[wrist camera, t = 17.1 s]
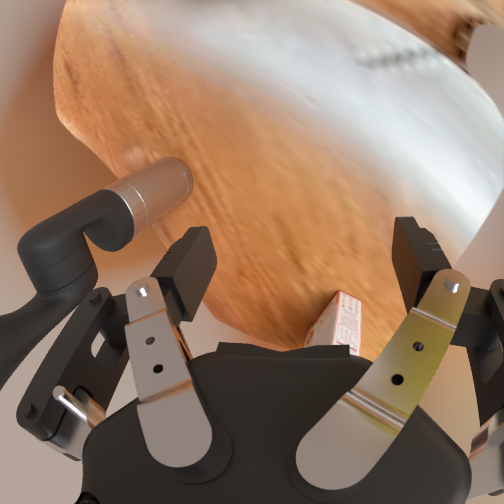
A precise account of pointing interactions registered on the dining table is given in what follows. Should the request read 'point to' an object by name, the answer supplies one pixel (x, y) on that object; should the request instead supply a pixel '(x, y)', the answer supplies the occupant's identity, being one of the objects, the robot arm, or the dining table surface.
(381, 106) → the dining table surface
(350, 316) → the cracker box
